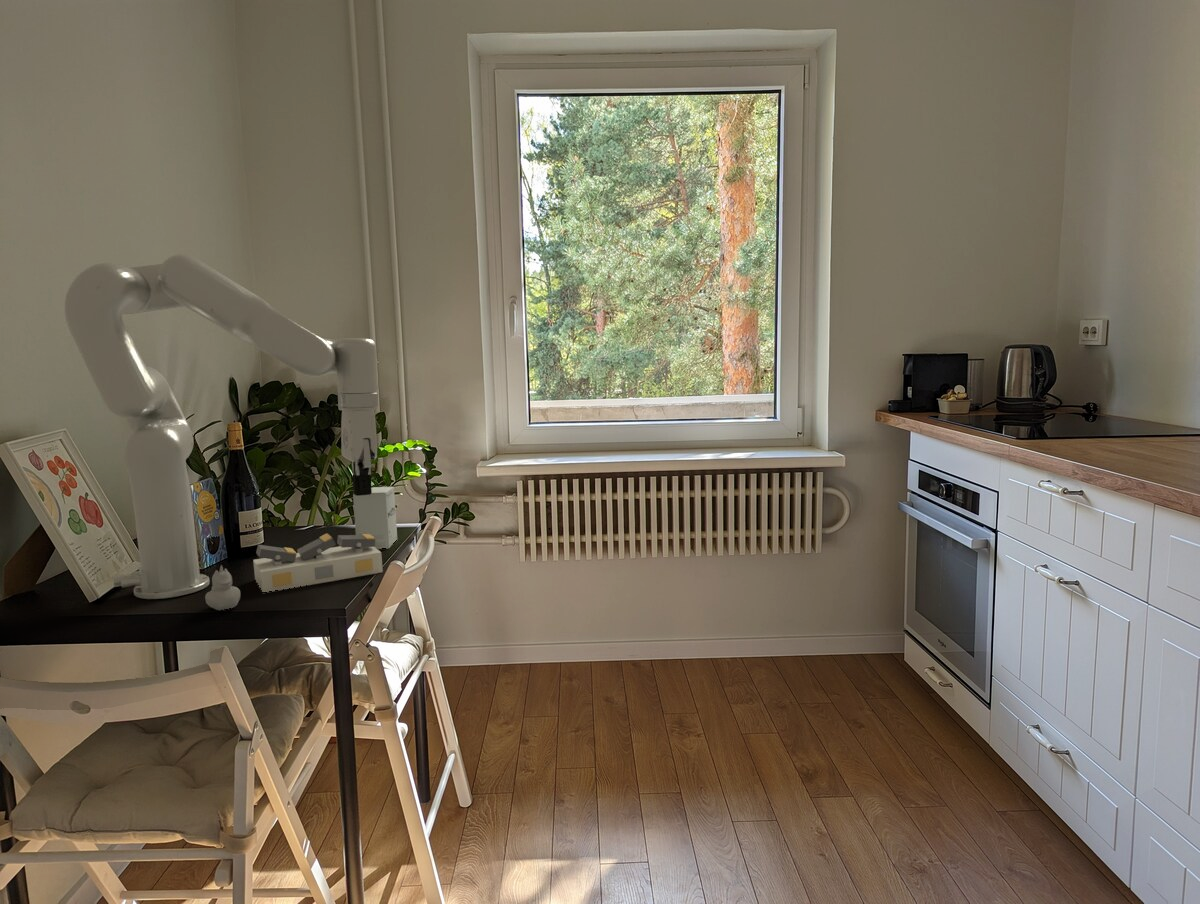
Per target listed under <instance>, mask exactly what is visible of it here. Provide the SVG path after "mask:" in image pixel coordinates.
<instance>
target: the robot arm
mask: <svg viewBox="0 0 1200 904" xmlns="http://www.w3.org/2000/svg"><path fill="white" fill-rule="evenodd" d="M183 307H185V308H187V309H189V310H190V311H192V312H194V313H195V314H197V315H199V316H201V317H202V318H203V319H206V320H208V321H209V322H210V323H212V324H215V325H216V326H217V327H219V328H221V329H223V330H225V331H226V332H228V333H229V334H231V335H233V336H235V337H236V338H237V339H240V340H241V341H243V342H244V343H247V344H249V345H251V346H254V347H255V348H257V349H259V351H260V350H261V352H263V353H264V354H267V355H269V356H270V357H272V358H274V359H275V360H277V361H278V362H281V363H282V364H284V365H285V366H287V367H289V368H290V369H292V370H294V371H296V372H297V373H299V374H301V375H303V376H305V377H308V378H311V379H312V378H321V377H323V376H327V375H335V374H336V380H337V381H336V382H337V383H336V385H337V386H336V387H337V402H338V405H337V406H338V410H339V411H341V421H340V423H341V424H340V425H341V426H340V427H341V429H340V430H341V431H340V435H341V436H340V438H341V439H340V440H341V444H340V445H341V450H340V451H341V452H340V453H341V456H342V457H343V458H345V459H346V460H348V461H350V462H351V470H352V491H353V492H352V494H355V495H356V496H361V495H370V494H371V493H372V489H371V488H372V475H371V473H372V461H375V460H376V459H377V457H378V437H377V423H376V415H375V410H379V409H380V408H379V407H380V405H379V388H378V363H377V362H378V361H377V358H378V357H377V346H376V345H377V344H376V342H375V341H374V340H373V339H371V338H365V337H363V338H362V337H349V338H348V337H347V338H345V337H344V338H340V339H333V338H324V337H320V336H319V335H316V334H315V333H313V332H311V331H310V330H308V329H306V328H305V327H303V326H302V325H300V324H298V323H296V322H295V321H294V320H292V319H290V318H288V317H287V316H285V315H284V314H282V313H281V312H279V311H278V310H276V309H275V308H273V307H272V305H270V304H269V303H268V302H267V301H265V300H264V299H263V298H261V297H260V296H259V295H257V294H255V293H254V292H252V291H250V290H249V289H246V288H245V287H243V286H242V285H240V284H239V283H237V282H235V281H234V280H232V279H230V278H229V277H227V276H225V275H224V274H222V273H220V272H219V271H217V270H216V269H214V268H212V267H211V266H209V265H208V264H206V263H204V262H203V261H201V260H200V259H198V258H196V257H193V256H191V255H188V254H176V255H171V256H170V257H168V258H166V259H165V260H164V261H163V262H162V263H157V264H151V265H142V266H141V265H140V266H139V265H138V266H131V267H130V266H129V267H127V266H124V265H122V264H119V263H118V264H117V263H113V262H99V263H95V264H93V265H90V266H89V267H87V268H85V269H84V270H83V271H81V272H80V273H79V274H78V275H76V277H75V278H74V279H73V281H72V282H71V284H70V286H69V288H68V290H67V292H66V295H65V300H64V317H65V320H66V321H65V322H66V325H67V327H68V330H69V333H70V334H71V337H72V339H73V341H74V343H75V346H76V347H77V349H78V351H79V353H80V354H81V357H82V359H83V361H84V365H85V367H86V369H87V370H88V372H89V374H90V377H91V378H92V380H93V382H94V384H95V386H96V389H97V390H98V391H97V392H98V394H99V395H100V397H101V399H102V401H103V403H104V405H105V407H106V408H107V409H108V410H109V411H110V412H111V413H113V414H114V415H115V416H118V417H119V418H120V417H121V418H124V419H125V420H126V422H127V424H128V425H129V427H130V429H131V433H129V435H128V436H127V439H126V441H125V445H124V450H123V451H124V452H123V453H124V455H123V457H124V463H125V468H126V471H127V475H128V480H129V485H130V492H131V498H132V499H131V500H132V505H133V507H132V508H133V512H134V521H135V522H134V523H135V529H136V530H135V531H136V537H137V539H136V540H137V546H138V556H139V564H140V566H138V570H137V571H132V573H130V574H121V575H113V577H112V578H113V585H114V587H115V588H116V587H121V588H127V587H128V588H129V587H132V586H134V588H133V596H135V597H136V598H139V599H145V600H158V599H159V600H161V599H170V598H177V597H182V596H185V595H190V594H192V593H193V594H194V593H196V592H198V591H201V590H203V589H205V588H207V587H209V585H210V583H211V582H210V581H211V580H210V577H209V575H208V576H207V575H206V574H203V573H200V565H199V564H200V563H199V556H198V545H197V538H196V537H197V536H196V529H195V528H196V527H195V518H194V510H193V509H194V507H193V503H192V502H193V501H192V493H191V492H192V491H191V485H190V479H189V474H188V468H187V462H186V461H187V459H188V458H189V457H190V455H191V453H192V451H193V449H194V445H195V444H194V443H195V441H194V435H193V432H192V430H191V427H190V425H189V422H188V421H187V419H186V417H185V415H184V412H183V410H182V409H181V406H180V405H179V402H178V400H177V397H176V396H175V394H174V392H173V390H172V388H171V386H170V384H169V382H168V381H167V380H166V378H165V377H164V375H162V373H161V372H159V371H158V370H157V369H155V368H154V367H151V366H148V365H146V363H145V362H144V360H143V358H142V356H141V354H140V352H139V350H138V348H137V345H136V344H135V341H134V339H133V337H132V336H131V334H130V332H129V331H128V329H127V327H126V326H125V323H124V321H123V315H134V314H135V315H136V314H141V313H148V312H155V311H162V310H168V309H169V310H170V309H176V308H177V309H178V308H183Z"/></svg>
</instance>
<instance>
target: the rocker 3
mask: <svg viewBox="0 0 1200 904" xmlns="http://www.w3.org/2000/svg"><path fill="white" fill-rule="evenodd" d="M336 541H337V544H338V545H339V546H341V547H342V548H343V547H375V538H374V537H373V536H372V535H370V534H362V535H356V534H349V535H348V534H347V535H346V534H345V535H343V534H341V535H340V534H339V535H337V540H336Z"/></svg>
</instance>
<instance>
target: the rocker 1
mask: <svg viewBox="0 0 1200 904" xmlns="http://www.w3.org/2000/svg"><path fill="white" fill-rule="evenodd" d="M255 553H256V555H257V557H258V559H262V558H267V559H275V560H282V561H290V562H295V559H296V555H297V554H296V553H297V552H296V551H295V550H294V549H293V547H286V546H285V547H278V546H270V545H265V544H257V548H256V552H255Z"/></svg>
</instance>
